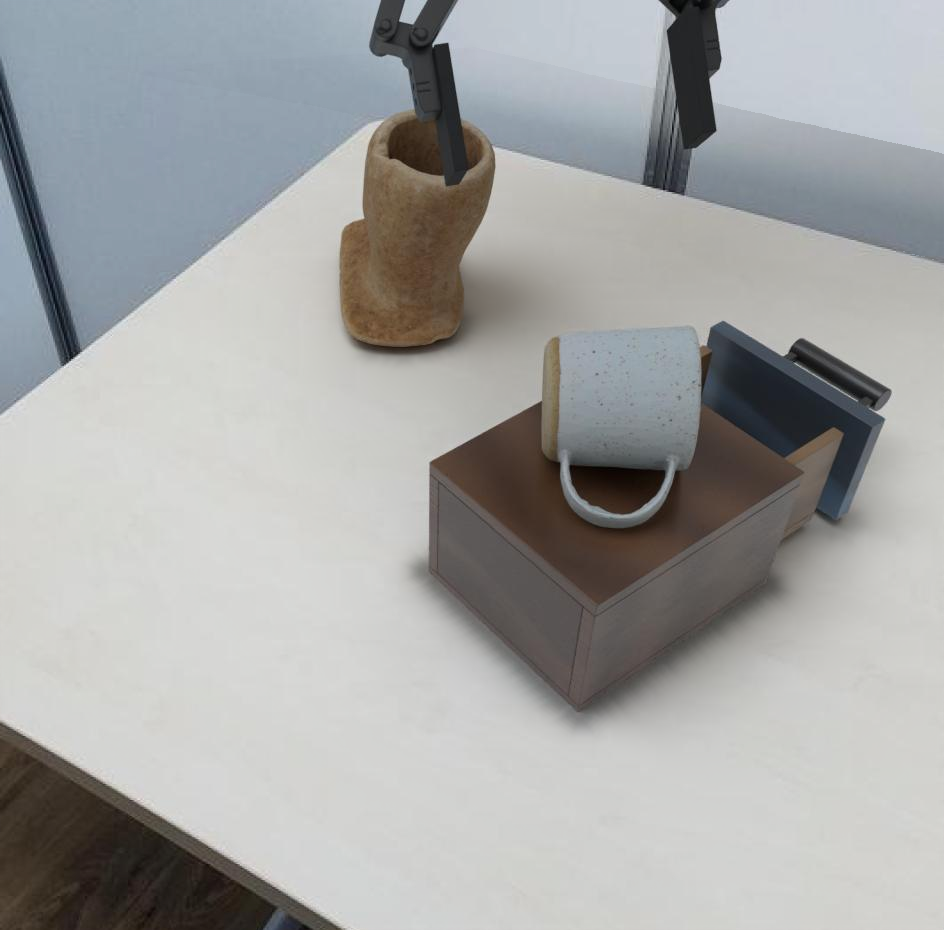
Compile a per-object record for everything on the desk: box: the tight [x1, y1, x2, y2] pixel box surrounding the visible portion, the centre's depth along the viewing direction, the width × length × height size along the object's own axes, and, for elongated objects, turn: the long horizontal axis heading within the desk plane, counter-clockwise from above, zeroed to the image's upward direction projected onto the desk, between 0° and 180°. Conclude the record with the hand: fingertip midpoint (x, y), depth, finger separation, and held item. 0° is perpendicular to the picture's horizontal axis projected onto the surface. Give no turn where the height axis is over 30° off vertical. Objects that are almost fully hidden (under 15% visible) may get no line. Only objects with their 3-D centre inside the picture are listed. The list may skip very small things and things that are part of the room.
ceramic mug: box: [541, 325, 701, 528], centre depth 61 cm, size 11×8×8 cm
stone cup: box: [339, 109, 497, 348], centre depth 86 cm, size 15×12×15 cm
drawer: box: [700, 320, 893, 541], centre depth 72 cm, size 20×13×8 cm, turn 125°
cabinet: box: [428, 400, 805, 713], centre depth 68 cm, size 16×14×10 cm
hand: (579, 160), depth 61 cm, fingers open, 13 cm apart
